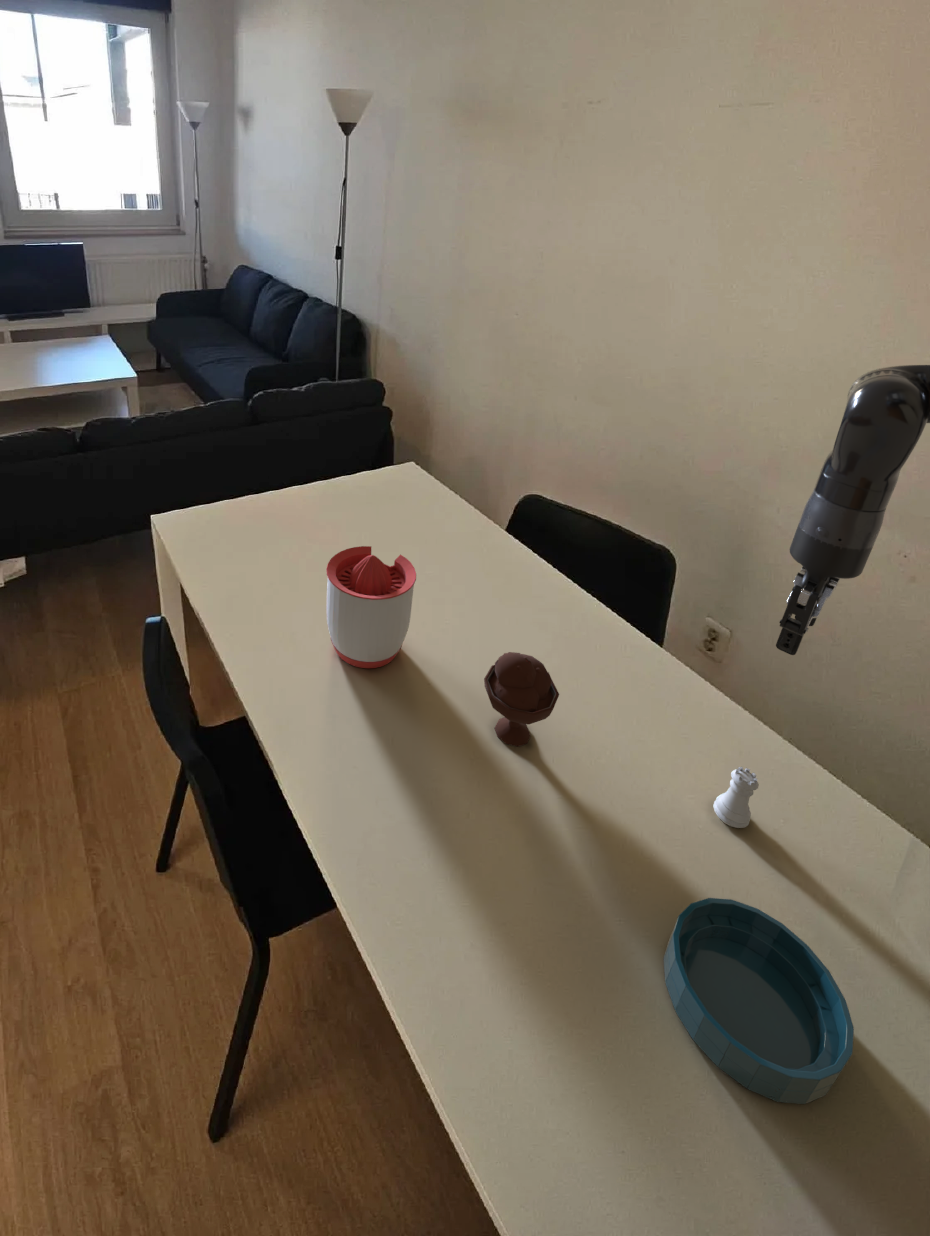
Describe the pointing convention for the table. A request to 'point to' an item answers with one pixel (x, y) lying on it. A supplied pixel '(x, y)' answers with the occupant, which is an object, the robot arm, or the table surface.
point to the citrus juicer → (368, 606)
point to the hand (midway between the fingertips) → (794, 636)
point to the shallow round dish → (757, 1000)
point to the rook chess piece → (737, 799)
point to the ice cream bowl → (519, 695)
